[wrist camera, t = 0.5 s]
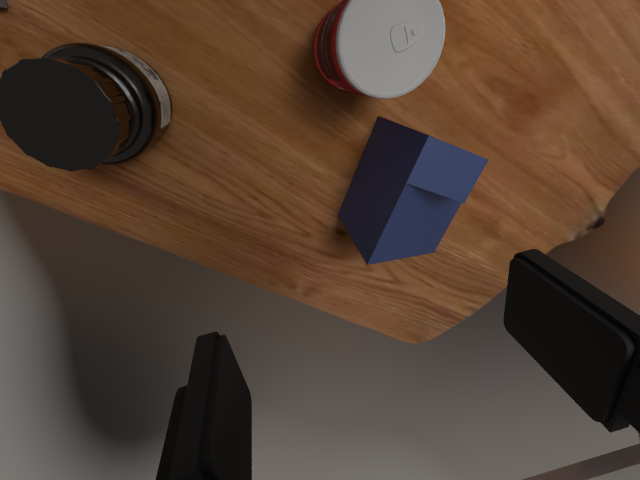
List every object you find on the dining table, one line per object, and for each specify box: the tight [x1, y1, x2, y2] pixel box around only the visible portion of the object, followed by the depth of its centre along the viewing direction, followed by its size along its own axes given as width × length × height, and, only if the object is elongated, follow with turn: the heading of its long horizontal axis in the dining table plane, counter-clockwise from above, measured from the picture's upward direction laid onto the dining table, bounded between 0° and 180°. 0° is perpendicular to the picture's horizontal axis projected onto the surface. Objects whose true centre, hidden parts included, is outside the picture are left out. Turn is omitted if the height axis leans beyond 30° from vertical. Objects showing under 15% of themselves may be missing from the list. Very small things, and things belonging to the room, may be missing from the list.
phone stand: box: [338, 116, 488, 265], centre depth 36 cm, size 12×12×12 cm
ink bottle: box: [0, 43, 172, 171], centre depth 27 cm, size 10×9×12 cm
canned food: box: [314, 0, 445, 99], centre depth 29 cm, size 8×8×11 cm
